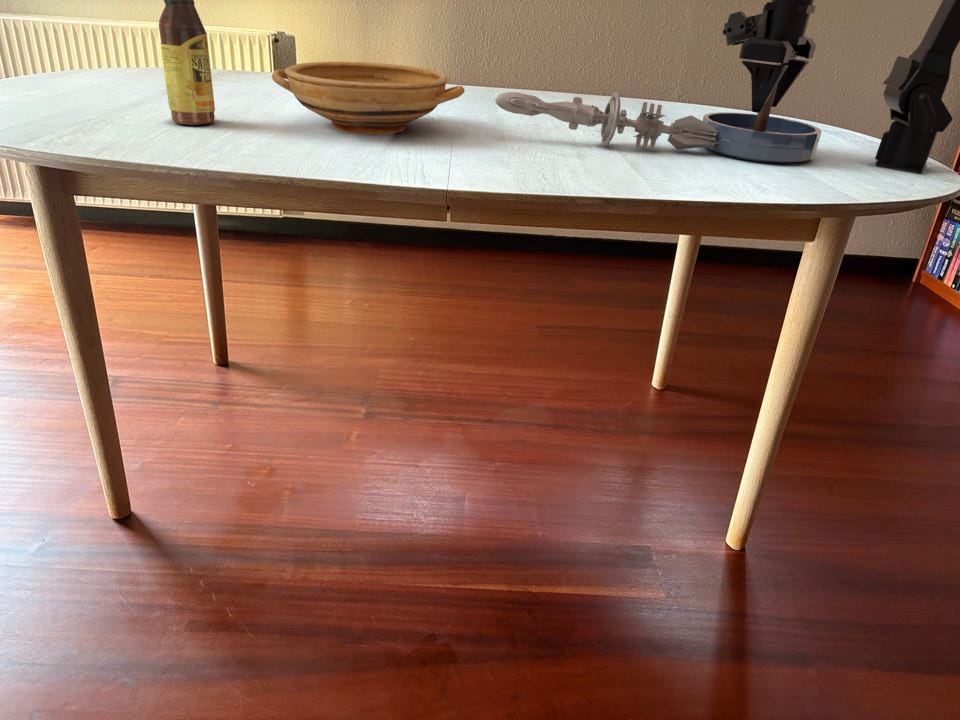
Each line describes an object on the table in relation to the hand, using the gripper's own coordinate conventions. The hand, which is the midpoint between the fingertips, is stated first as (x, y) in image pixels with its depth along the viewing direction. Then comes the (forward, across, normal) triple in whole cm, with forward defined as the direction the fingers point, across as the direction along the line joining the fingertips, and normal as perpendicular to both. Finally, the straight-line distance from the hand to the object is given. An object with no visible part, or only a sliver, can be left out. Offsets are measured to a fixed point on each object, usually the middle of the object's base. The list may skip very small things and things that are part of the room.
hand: (764, 109), depth 106 cm
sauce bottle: (+7, +56, -66) cm, 87 cm away
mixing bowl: (+6, 0, 0) cm, 6 cm away
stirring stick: (+6, 0, 0) cm, 6 cm away
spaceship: (+7, +17, -18) cm, 26 cm away
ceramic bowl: (+7, +37, -49) cm, 62 cm away
